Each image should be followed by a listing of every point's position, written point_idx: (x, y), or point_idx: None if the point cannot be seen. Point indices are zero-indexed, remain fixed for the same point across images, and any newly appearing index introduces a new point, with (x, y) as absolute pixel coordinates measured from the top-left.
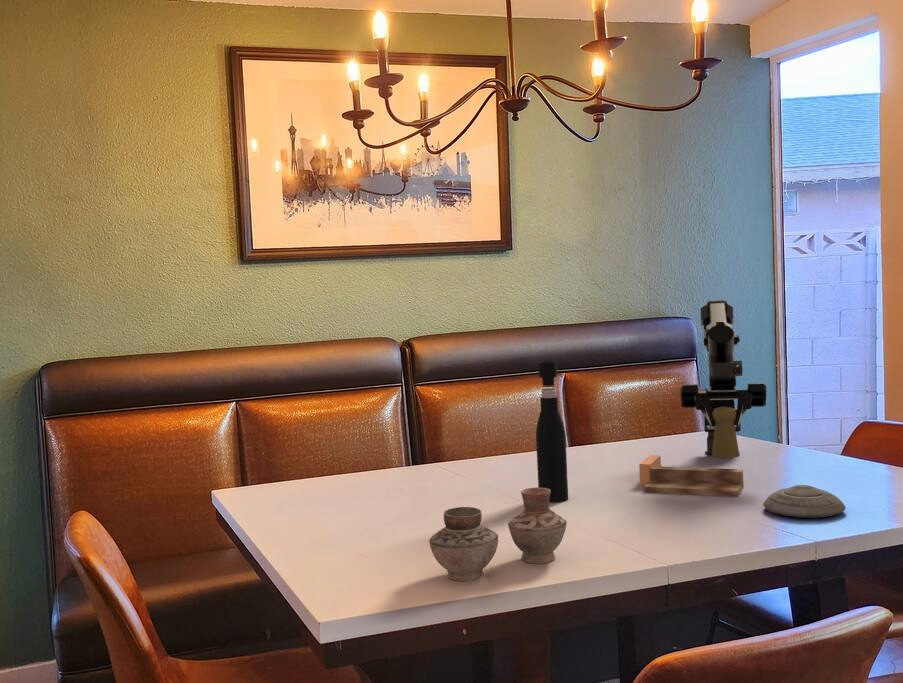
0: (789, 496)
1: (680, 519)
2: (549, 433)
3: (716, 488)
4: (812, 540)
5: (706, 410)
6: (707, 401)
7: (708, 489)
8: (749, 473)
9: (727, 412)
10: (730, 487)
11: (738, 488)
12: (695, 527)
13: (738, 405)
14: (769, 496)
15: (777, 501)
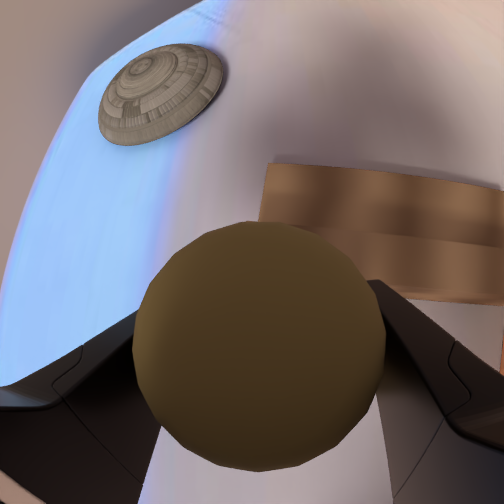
0: (176, 47)
1: (361, 30)
2: None
3: (327, 183)
4: (190, 9)
5: (457, 341)
6: (491, 425)
7: (347, 169)
8: (224, 477)
9: (216, 231)
10: (288, 198)
11: (266, 189)
12: (330, 9)
13: (72, 375)
14: (205, 70)
15: (198, 48)
